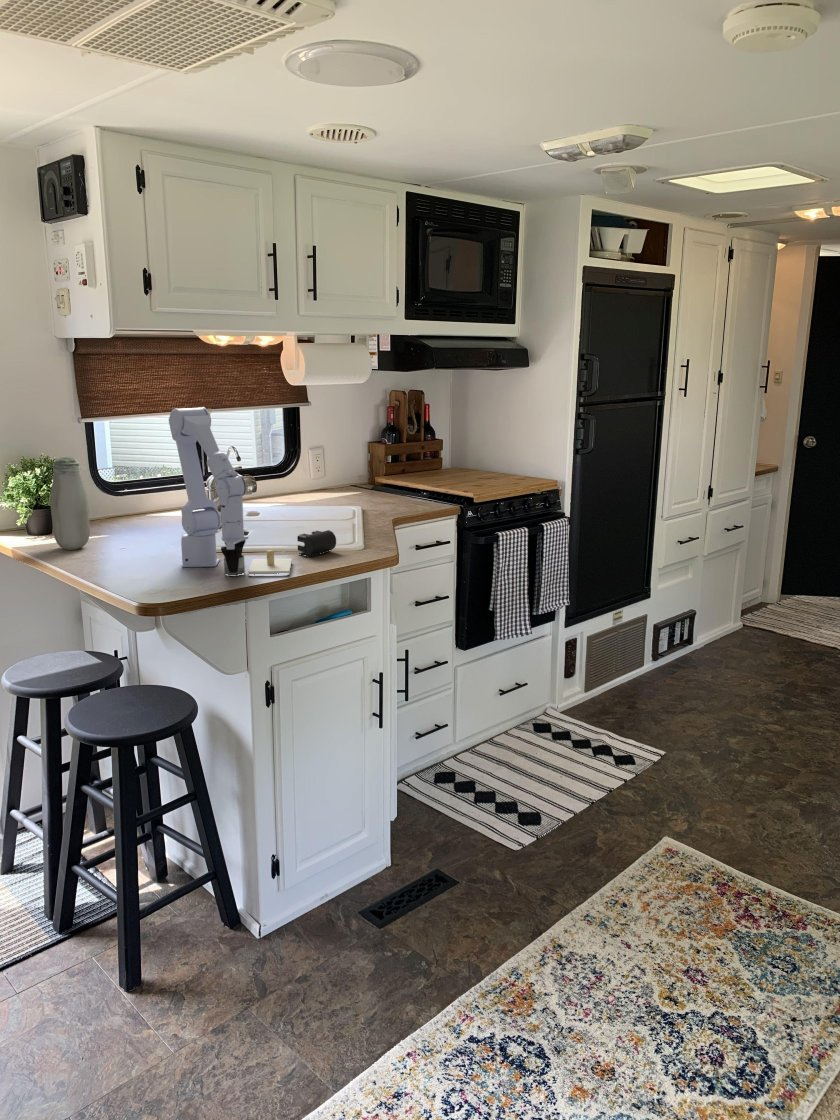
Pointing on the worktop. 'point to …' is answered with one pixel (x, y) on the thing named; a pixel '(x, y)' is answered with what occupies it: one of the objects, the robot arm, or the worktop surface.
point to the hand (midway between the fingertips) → (234, 569)
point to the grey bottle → (69, 505)
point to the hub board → (270, 565)
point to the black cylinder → (316, 542)
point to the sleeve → (240, 567)
